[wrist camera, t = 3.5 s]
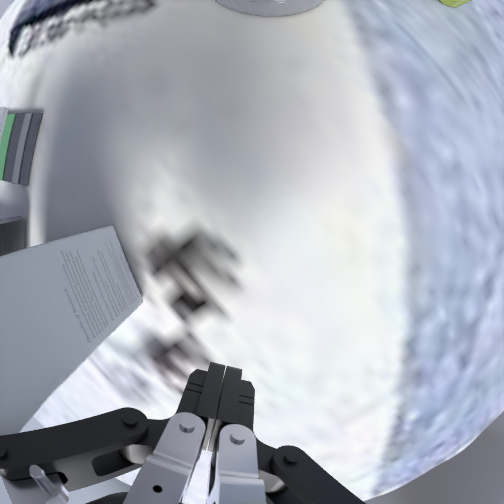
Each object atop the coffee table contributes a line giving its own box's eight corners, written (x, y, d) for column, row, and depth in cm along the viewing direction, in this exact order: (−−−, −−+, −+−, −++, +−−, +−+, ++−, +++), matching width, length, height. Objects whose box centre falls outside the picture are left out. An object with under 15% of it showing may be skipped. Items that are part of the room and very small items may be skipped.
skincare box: (73, 322, 19) (-45, 430, 4) (44, 255, 17) (-100, 325, 3) (151, 298, 18) (8, 467, 3) (117, 215, 17) (-96, 288, 2)
